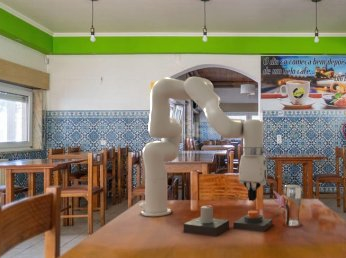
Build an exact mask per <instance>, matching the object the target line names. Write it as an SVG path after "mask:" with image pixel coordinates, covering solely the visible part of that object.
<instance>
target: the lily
mask: <svg viewBox="0 0 346 258" xmlns="http://www.w3.org/2000/svg"><path fill="white" fill-rule="evenodd" d="M273 193H274V194H275V196H276V199H274V202H275V203H277V204H278V205H279V206H278V209H276V214H275V216H277V215H278V212H279V210H280V208H282V209H283V211H284V212H285V209H284V203H283V194H281V195H280V194H279V193H278V192H277V191H275V190H273Z"/></svg>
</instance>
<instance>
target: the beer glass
mask: <svg viewBox="0 0 346 258" xmlns="http://www.w3.org/2000/svg"><path fill="white" fill-rule="evenodd" d="M282 195H283V203H284V209H285V211H284V215H285V216H284V223H283V224H284V226H286V227H289V228H295V227H296V228H297V227H300V226H301V221H300V211H301V205H302V188H301V185H299V184H284V185H283V189H282ZM284 209H283V210H284Z"/></svg>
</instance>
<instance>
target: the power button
mask: <svg viewBox="0 0 346 258" xmlns="http://www.w3.org/2000/svg"><path fill="white" fill-rule="evenodd" d="M259 213H260V212H259V211H258V210H248V211H247V214H248V217H251V218H256V217H259V215H260V214H259Z"/></svg>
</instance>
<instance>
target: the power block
mask: <svg viewBox="0 0 346 258" xmlns="http://www.w3.org/2000/svg"><path fill="white" fill-rule="evenodd" d="M272 226H273V219H272V218H266V217H265V218H264V216H263V215H262V214H259V217H256V218H251V217H248V213H247V214H245V215H243V216H242V217H240V218H239V219H237V220H235V221H234V222H233V229H237V230H246V231H254V232H263V233H264V232H266V231H267V230H268V229H269V228H270V227H272Z"/></svg>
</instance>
